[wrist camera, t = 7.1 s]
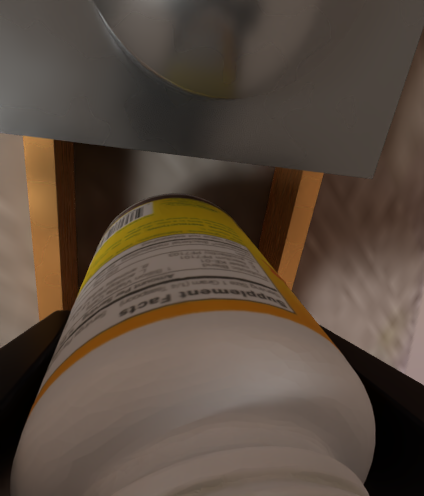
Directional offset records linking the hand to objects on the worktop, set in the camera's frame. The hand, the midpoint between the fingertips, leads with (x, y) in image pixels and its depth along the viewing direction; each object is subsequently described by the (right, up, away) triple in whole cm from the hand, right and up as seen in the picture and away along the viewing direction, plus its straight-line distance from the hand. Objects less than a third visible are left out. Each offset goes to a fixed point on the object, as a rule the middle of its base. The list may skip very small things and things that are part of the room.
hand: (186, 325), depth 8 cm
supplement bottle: (-1, +2, +4) cm, 4 cm away
